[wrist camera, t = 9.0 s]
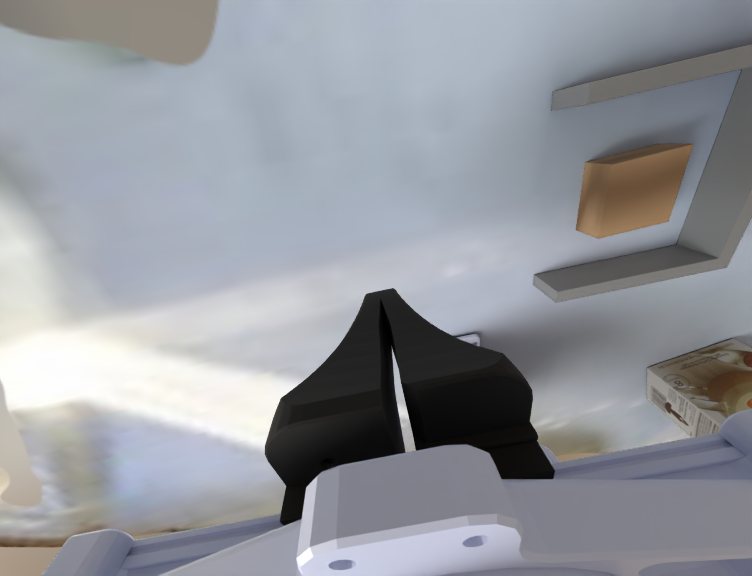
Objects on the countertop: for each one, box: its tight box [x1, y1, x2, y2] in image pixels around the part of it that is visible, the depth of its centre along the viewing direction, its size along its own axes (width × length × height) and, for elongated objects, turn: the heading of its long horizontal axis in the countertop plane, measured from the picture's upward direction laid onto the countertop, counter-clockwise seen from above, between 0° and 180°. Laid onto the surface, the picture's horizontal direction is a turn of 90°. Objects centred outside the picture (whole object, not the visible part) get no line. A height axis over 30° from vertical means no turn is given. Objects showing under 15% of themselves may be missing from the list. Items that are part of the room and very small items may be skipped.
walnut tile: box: [576, 144, 693, 239], centre depth 19 cm, size 5×5×2 cm
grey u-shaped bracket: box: [533, 44, 752, 303], centre depth 18 cm, size 14×13×3 cm
